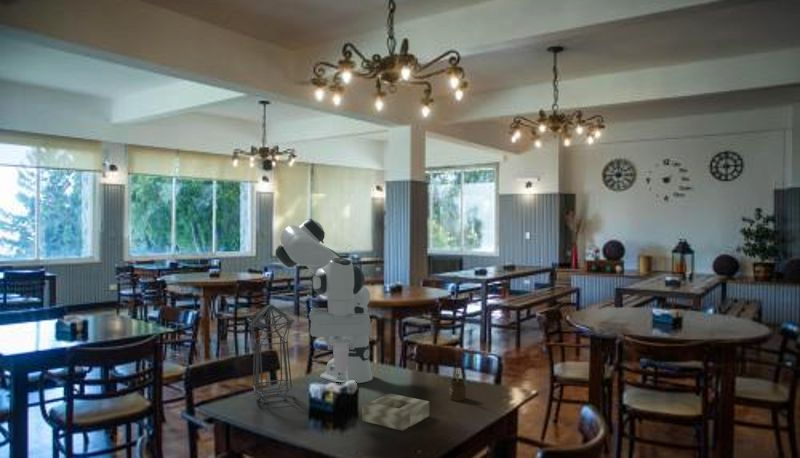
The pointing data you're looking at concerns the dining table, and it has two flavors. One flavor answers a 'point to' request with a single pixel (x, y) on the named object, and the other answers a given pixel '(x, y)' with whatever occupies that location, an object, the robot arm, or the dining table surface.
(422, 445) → the dining table surface
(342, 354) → the smoothie
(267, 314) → the geometric lantern
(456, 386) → the brown bottle
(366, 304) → the robot arm
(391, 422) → the socket block
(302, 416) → the dining table surface
